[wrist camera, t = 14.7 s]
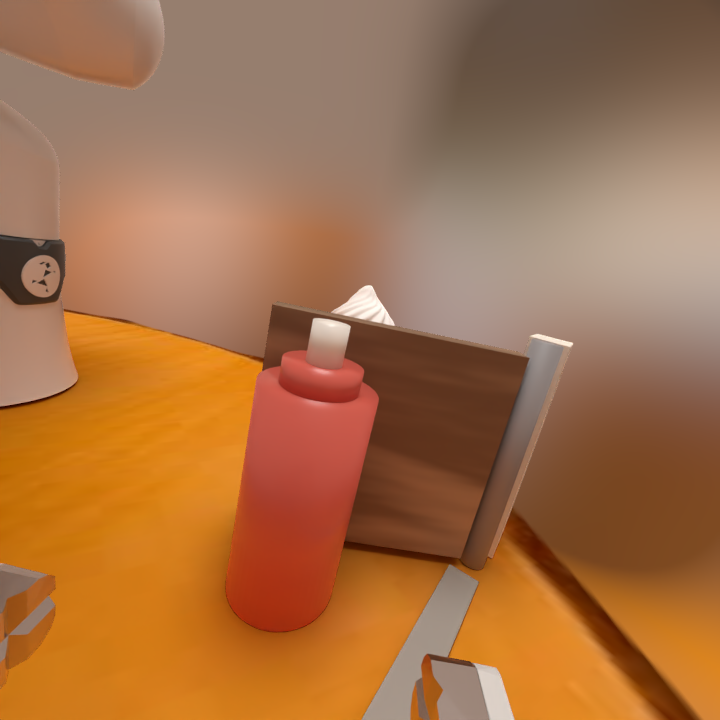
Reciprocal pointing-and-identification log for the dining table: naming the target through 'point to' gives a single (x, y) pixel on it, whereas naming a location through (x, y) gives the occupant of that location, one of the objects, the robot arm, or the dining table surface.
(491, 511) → the white-tipped grey slat
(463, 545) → the door
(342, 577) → the dining table surface
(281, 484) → the ketchup bottle
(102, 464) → the dining table surface
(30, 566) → the dining table surface
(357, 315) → the soft serve ice cream cone
